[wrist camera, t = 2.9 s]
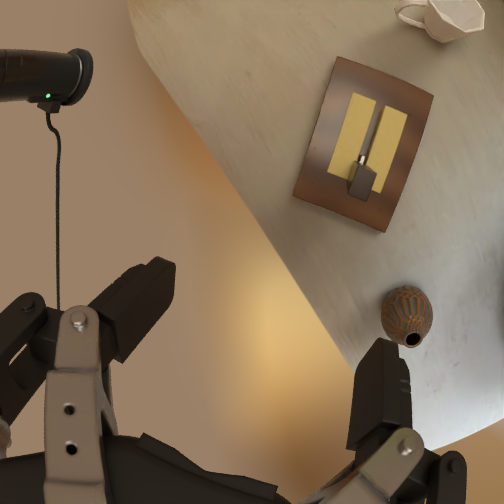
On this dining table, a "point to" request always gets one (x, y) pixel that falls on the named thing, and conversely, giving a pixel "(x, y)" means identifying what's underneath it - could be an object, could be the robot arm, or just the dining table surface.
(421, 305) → the vase
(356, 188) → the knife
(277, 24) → the dining table surface
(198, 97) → the dining table surface
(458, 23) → the cup
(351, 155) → the butter
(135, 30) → the dining table surface
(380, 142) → the butter
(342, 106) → the board
